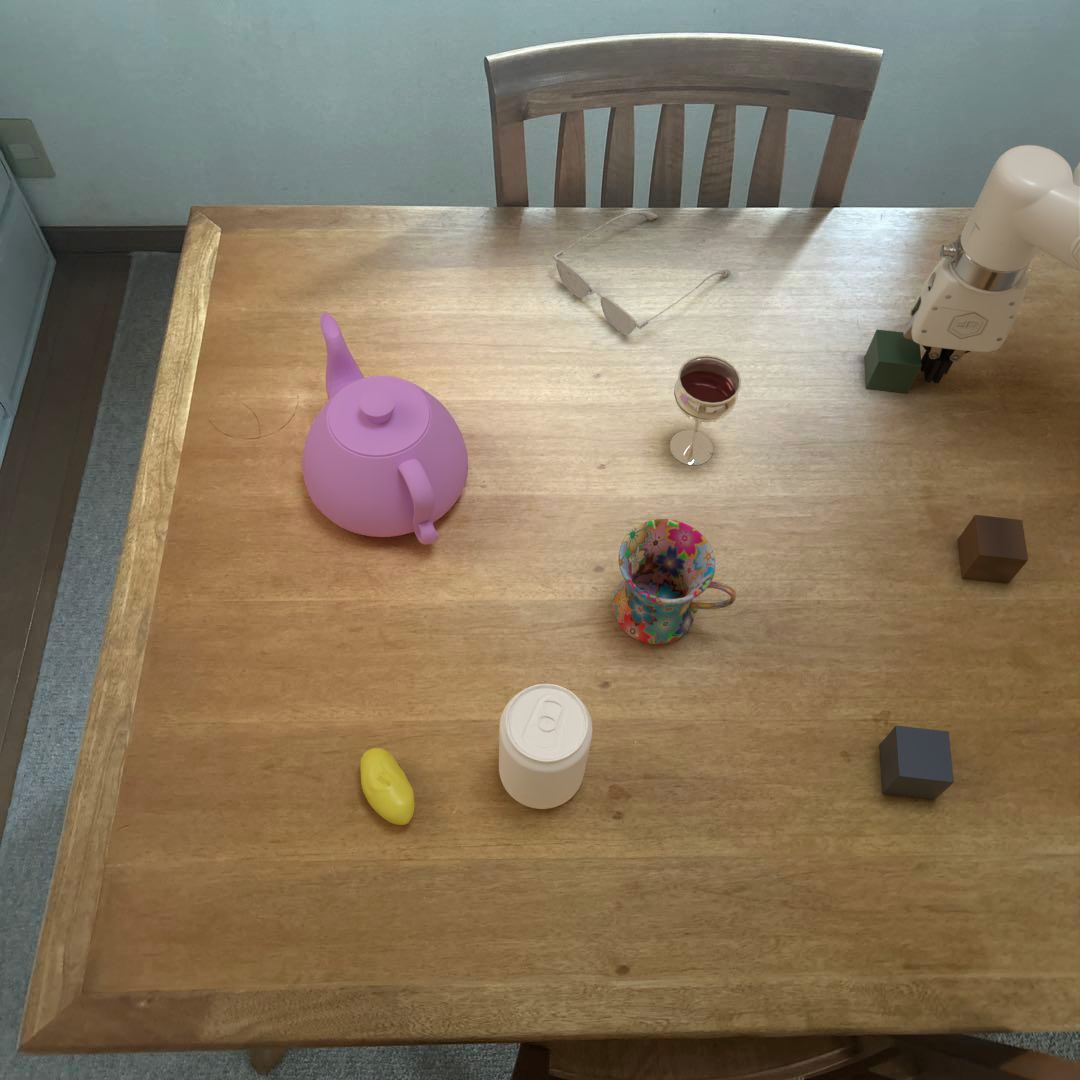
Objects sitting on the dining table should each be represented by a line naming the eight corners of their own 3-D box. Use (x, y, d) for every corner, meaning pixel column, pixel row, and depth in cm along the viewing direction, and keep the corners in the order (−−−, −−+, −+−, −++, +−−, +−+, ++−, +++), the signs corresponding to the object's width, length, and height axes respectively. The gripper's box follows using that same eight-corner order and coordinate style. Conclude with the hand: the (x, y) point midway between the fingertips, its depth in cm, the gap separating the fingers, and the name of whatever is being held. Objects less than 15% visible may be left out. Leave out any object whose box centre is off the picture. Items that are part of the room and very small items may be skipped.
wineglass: (688, 481, 121) (706, 415, 111) (649, 441, 124) (664, 372, 113) (733, 453, 123) (755, 386, 113) (694, 414, 126) (712, 345, 116)
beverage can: (487, 796, 101) (486, 750, 91) (513, 719, 105) (516, 667, 95) (570, 822, 100) (579, 779, 90) (593, 743, 104) (604, 693, 94)
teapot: (508, 522, 117) (510, 447, 106) (359, 592, 112) (344, 521, 100) (405, 366, 128) (396, 282, 116) (264, 423, 123) (241, 341, 111)
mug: (595, 633, 111) (605, 582, 102) (624, 560, 115) (636, 506, 106) (708, 673, 109) (728, 625, 100) (732, 598, 113) (754, 545, 104)
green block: (905, 361, 132) (919, 333, 127) (907, 393, 129) (922, 366, 125) (864, 357, 132) (876, 329, 127) (865, 388, 129) (878, 361, 125)
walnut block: (1003, 544, 118) (1022, 519, 114) (1008, 583, 116) (1028, 560, 111) (957, 539, 118) (974, 514, 114) (961, 578, 116) (979, 554, 112)
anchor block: (930, 750, 105) (949, 731, 101) (934, 800, 103) (954, 782, 99) (879, 744, 106) (895, 725, 101) (882, 794, 103) (899, 776, 99)
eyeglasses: (549, 276, 137) (551, 252, 133) (650, 212, 143) (654, 188, 140) (635, 347, 131) (639, 324, 128) (735, 277, 138) (742, 254, 134)
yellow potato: (393, 747, 103) (389, 732, 100) (425, 822, 100) (423, 808, 96) (351, 764, 102) (346, 750, 99) (382, 841, 99) (379, 828, 95)
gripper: (920, 277, 112) (869, 391, 128) (1066, 292, 111) (996, 405, 127) (915, 227, 116) (866, 343, 132) (1056, 241, 115) (989, 356, 131)
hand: (930, 373), depth 129 cm, fingers closed
